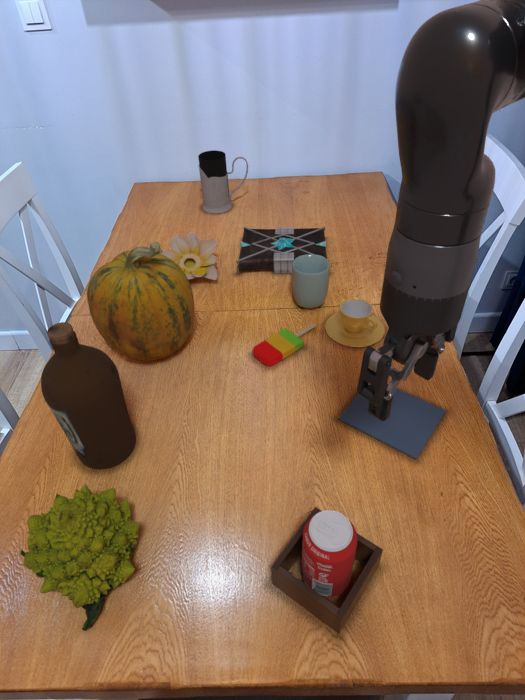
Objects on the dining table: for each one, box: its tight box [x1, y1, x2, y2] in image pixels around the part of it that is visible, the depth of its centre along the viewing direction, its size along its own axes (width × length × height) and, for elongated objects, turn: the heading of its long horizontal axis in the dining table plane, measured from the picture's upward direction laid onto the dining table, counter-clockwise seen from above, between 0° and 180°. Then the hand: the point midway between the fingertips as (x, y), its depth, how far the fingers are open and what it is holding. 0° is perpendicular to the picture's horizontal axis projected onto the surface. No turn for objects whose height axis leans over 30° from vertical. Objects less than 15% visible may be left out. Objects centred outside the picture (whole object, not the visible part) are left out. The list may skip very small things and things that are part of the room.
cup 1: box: [291, 254, 331, 310], centre depth 104 cm, size 8×8×10 cm
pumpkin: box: [86, 241, 195, 362], centre depth 91 cm, size 19×19×25 cm
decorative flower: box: [160, 231, 219, 281], centre depth 114 cm, size 15×11×10 cm
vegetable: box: [20, 483, 140, 632], centre depth 63 cm, size 15×16×15 cm
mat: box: [338, 383, 447, 460], centre depth 83 cm, size 14×12×1 cm
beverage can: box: [300, 509, 357, 598], centre depth 60 cm, size 6×6×12 cm
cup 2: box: [324, 297, 386, 348], centre depth 98 cm, size 12×12×5 cm
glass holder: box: [197, 149, 249, 214], centre depth 139 cm, size 9×14×15 cm, turn 100°
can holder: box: [270, 506, 384, 635], centre depth 62 cm, size 10×10×5 cm
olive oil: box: [40, 321, 137, 470], centre depth 72 cm, size 11×11×25 cm
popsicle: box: [252, 323, 317, 367], centre depth 97 cm, size 6×15×2 cm, turn 131°
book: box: [236, 226, 330, 274], centre depth 121 cm, size 22×17×5 cm
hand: (401, 394), depth 55 cm, fingers open, 8 cm apart
